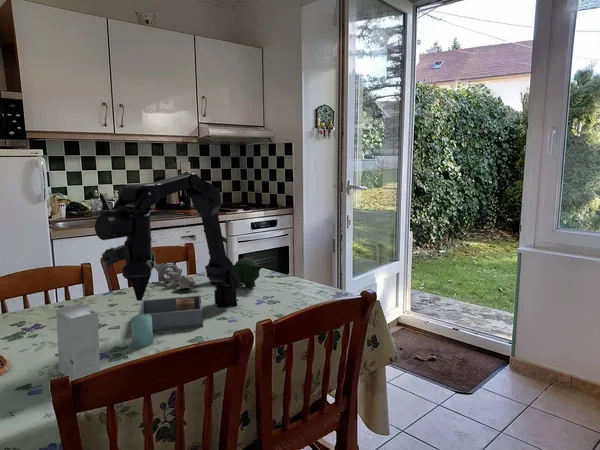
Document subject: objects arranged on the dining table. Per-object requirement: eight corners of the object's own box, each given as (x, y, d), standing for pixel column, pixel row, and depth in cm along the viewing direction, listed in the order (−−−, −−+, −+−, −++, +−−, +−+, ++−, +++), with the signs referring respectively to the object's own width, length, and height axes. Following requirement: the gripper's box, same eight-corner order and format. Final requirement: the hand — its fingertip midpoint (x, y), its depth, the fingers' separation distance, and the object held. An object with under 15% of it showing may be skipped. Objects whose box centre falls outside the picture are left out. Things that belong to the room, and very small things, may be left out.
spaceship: (157, 253, 180) (140, 249, 174) (206, 277, 157) (189, 273, 151) (150, 271, 179) (133, 268, 173) (198, 298, 157) (181, 295, 151)
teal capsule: (153, 338, 114) (152, 313, 113) (152, 346, 109) (151, 320, 108) (133, 340, 113) (131, 315, 112) (131, 348, 108) (129, 322, 107)
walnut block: (194, 313, 130) (193, 297, 130) (194, 319, 126) (194, 302, 125) (177, 315, 129) (176, 299, 128) (177, 321, 124) (176, 304, 123)
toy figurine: (206, 287, 165) (255, 293, 150) (201, 237, 163) (250, 238, 148) (224, 281, 173) (272, 287, 158) (219, 234, 171) (268, 234, 156)
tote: (200, 310, 135) (200, 295, 134) (203, 326, 122) (202, 309, 122) (142, 316, 130) (141, 300, 130) (138, 333, 118) (137, 315, 117)
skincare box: (58, 372, 96) (52, 308, 94) (86, 362, 101) (81, 301, 98) (74, 385, 91) (69, 317, 88) (103, 374, 95) (98, 309, 93)
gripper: (109, 230, 114) (112, 287, 116) (96, 241, 97) (100, 309, 99) (154, 229, 117) (155, 285, 119) (149, 240, 100) (151, 305, 102)
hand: (141, 295), depth 110 cm, fingers open, 9 cm apart
